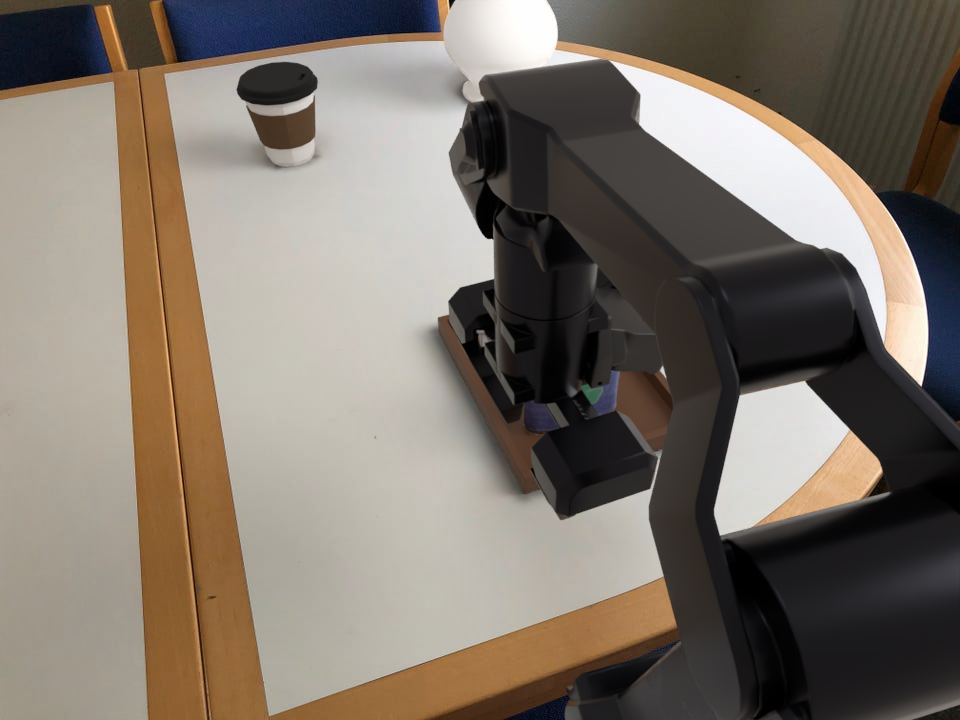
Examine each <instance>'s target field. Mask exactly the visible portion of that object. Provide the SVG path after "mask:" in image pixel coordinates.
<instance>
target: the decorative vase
mask: <svg viewBox="0 0 960 720" xmlns="http://www.w3.org/2000/svg"><path fill="white" fill-rule="evenodd" d="M558 28H559V27H558V22H557V18H556V15H555V13H554V10H553V8H552V7H551V5H550V4H549V2H548V0H454V1H453V3H452V5H451V7H450V9H449V11H448V12H447V15H446V17H445V20H444V25H443V33H442V34H443V37H442V38H443V45H444V49H445V52H446V54H447V55H448V57H449V58H450V60H451V61H452V62H453V64H454V65H455V67H456V68H457V69H458V70H459V71H460V72H461V73H462V74H463V76H465V77H466V78H467V80H466V81H465V82H464V84H463V85H462V94H463V97H464V98H465V100H466V101H468V102H469V103H471V102H478V101H483V100H484V97H483V96H482V95H481V94H480V89H479V81H480V80H481V78H482V77H483V76H484V75H487V74H494V73H501V72H509V71H516V70H523V69H530V68H538V67H545V65H546V64H547V63H548V62H549V60H550V59H551V57H552V56H553V54H554V52H555V50H556V47H557V44H558V40H559V39H558V38H559V29H558Z"/></svg>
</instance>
